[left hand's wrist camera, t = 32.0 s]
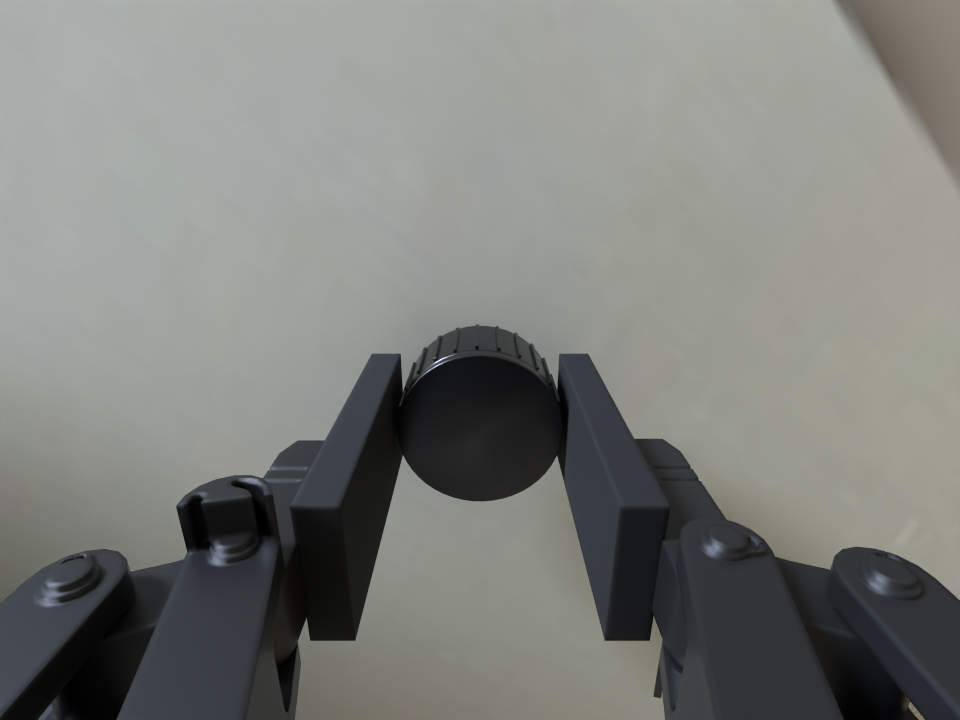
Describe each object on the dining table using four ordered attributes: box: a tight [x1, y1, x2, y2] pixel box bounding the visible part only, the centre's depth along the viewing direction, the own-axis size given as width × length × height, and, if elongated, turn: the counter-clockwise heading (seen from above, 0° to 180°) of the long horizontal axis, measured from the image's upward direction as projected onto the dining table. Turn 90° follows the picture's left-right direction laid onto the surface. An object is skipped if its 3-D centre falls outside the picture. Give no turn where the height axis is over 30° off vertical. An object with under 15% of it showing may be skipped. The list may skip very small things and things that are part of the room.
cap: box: [397, 325, 563, 501], centre depth 14 cm, size 4×4×2 cm
